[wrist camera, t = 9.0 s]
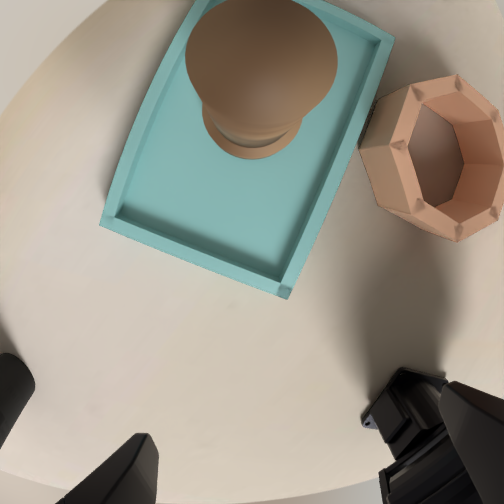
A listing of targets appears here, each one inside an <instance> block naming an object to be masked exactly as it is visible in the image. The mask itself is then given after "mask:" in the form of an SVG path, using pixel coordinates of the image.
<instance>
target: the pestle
mask: <svg viewBox="0 0 504 504" xmlns="http://www.w3.org/2000/svg"><path fill="white" fill-rule="evenodd" d="M185 64H186V70H187V73H188V76H189V79H190V81H191V83H192V85H193V87H194V89H195V91H196V92H197V94H198V96H199V98H200V99H201V101H202V117H203V122H204V125H205V128H206V130H207V132H208V134H209V135H210V137H211V138H212V139H213V140H214V142H215V143H216V144H217V145H218V146H219V147H220V148H221V149H222V150H224V151H225V152H227V153H228V154H230V155H232V156H235V157H238V158H241V159H249V160H255V159H262V158H266V157H269V156H271V155H273V154H275V153H277V152H278V151H280V150H282V149H283V148H285V147H286V146H287V145H288V144H289V143H290V142H291V141H292V140H293V139H294V137H295V136H296V135H297V133H298V131H299V129H300V126H301V123H302V119H303V117H304V116H306V115H307V114H308V113H309V112H310V111H311V110H312V109H313V108H314V107H316V106H317V105H318V104H319V103H320V102H321V101H322V100H323V99H324V98H325V96H326V95H327V93H328V92H329V91H330V89H331V87H332V85H333V83H334V80H335V77H336V73H337V67H338V56H337V49H336V46H335V42H334V40H333V38H332V35H331V33H330V32H329V30H328V29H327V27H326V26H325V24H324V23H323V22H322V21H321V20H320V19H319V18H318V17H317V16H316V15H315V14H314V13H313V12H312V11H310V10H309V9H307V8H306V7H304V6H303V5H301V4H299V3H297V2H295V1H292V0H226V1H224V2H222V3H220V4H218V5H216V6H215V7H213V8H212V9H210V10H209V11H208V12H207V13H206V14H204V15H203V16H202V17H201V19H200V20H199V21H198V22H197V23H196V25H195V26H194V28H193V29H192V31H191V34H190V36H189V38H188V41H187V45H186V51H185Z"/></svg>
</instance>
